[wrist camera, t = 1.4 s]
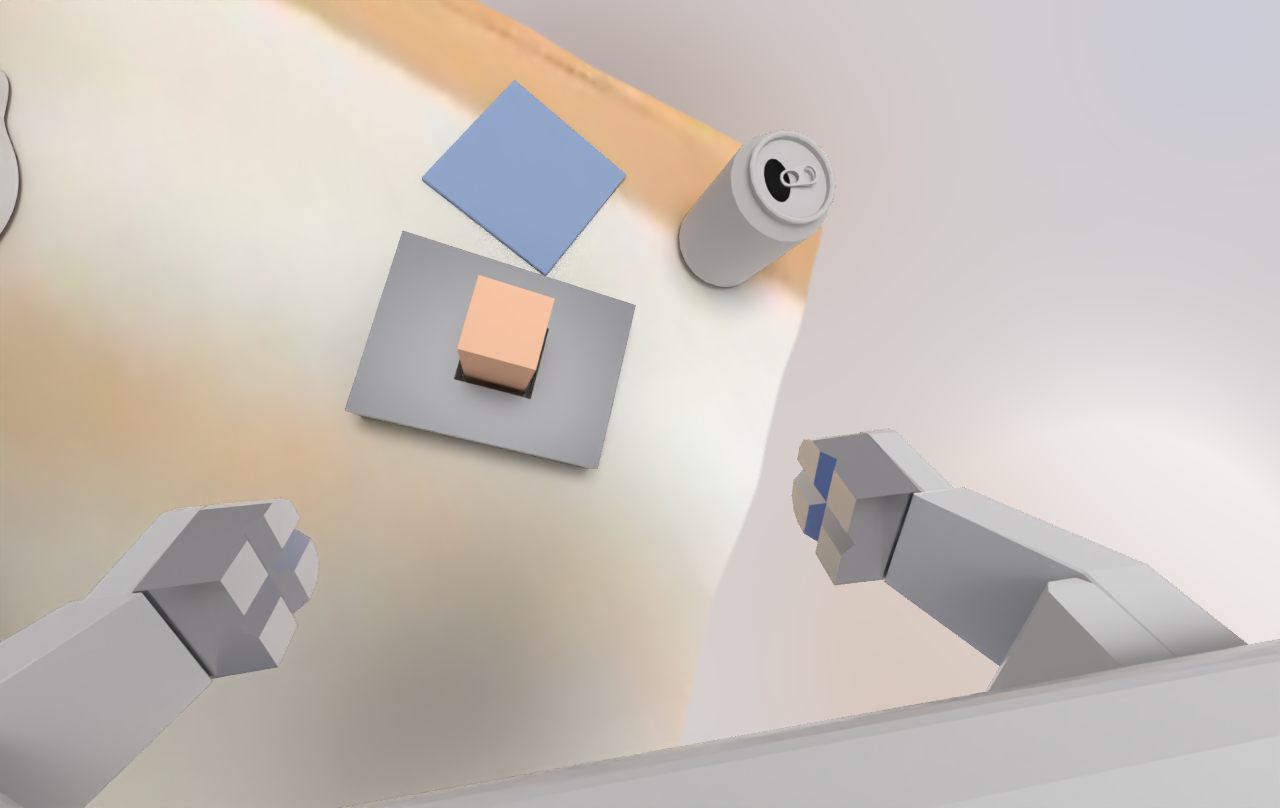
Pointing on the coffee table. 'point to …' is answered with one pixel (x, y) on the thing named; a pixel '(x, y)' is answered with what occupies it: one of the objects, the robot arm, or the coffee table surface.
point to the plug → (503, 335)
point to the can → (758, 208)
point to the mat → (525, 177)
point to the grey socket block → (438, 402)
